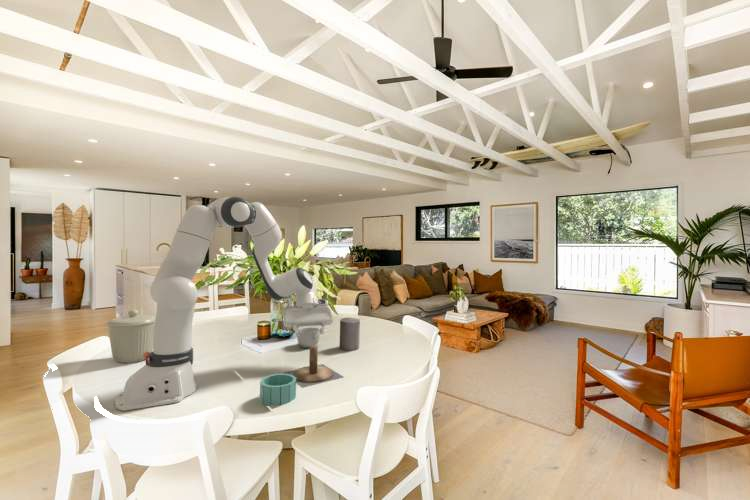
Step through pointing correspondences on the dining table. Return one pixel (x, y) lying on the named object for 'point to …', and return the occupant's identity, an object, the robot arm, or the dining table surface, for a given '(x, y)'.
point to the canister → (131, 336)
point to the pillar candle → (349, 333)
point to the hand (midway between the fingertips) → (310, 334)
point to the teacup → (308, 336)
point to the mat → (305, 384)
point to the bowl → (277, 389)
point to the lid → (313, 369)
